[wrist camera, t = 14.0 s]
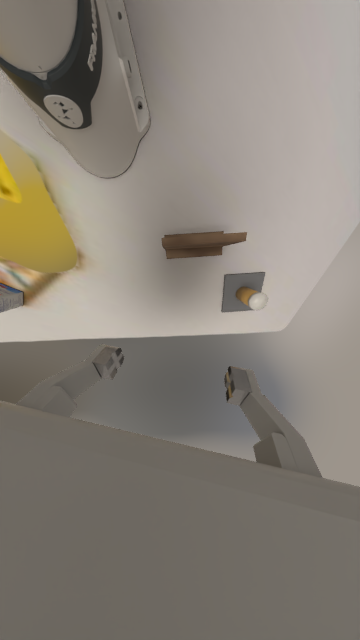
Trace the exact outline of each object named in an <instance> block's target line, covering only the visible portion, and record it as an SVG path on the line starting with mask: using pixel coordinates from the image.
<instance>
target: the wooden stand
mask: <svg viewBox="0 0 360 640" xmlns="http://www.w3.org/2000/svg"><path fill="white" fill-rule="evenodd" d="M223 233H224V231H221V232H206V233H191V234H176V235H165V238H162V246H163V248H164V249H165V250H166V256H167V259H171V258H186V257H200V256H215V255H222V246H226V245H230V244H235V243H239V242H243V241H246V235H247V232H244V233H229V234H223Z"/></svg>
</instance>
